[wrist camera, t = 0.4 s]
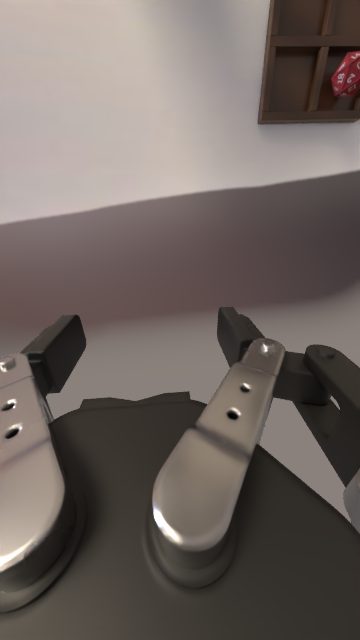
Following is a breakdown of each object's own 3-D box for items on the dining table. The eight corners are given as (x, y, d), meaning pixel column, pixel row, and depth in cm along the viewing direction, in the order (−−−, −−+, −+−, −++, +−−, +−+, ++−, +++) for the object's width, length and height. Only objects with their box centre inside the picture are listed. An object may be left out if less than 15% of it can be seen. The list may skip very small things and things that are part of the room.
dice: (349, 53, 27) (378, 28, 23) (354, 94, 29) (381, 77, 25) (321, 73, 27) (345, 51, 24) (328, 112, 29) (351, 97, 26)
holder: (275, -49, 23) (281, -63, 22) (398, -46, 24) (410, -60, 22) (257, 124, 30) (261, 120, 28) (353, 122, 30) (361, 118, 29)
